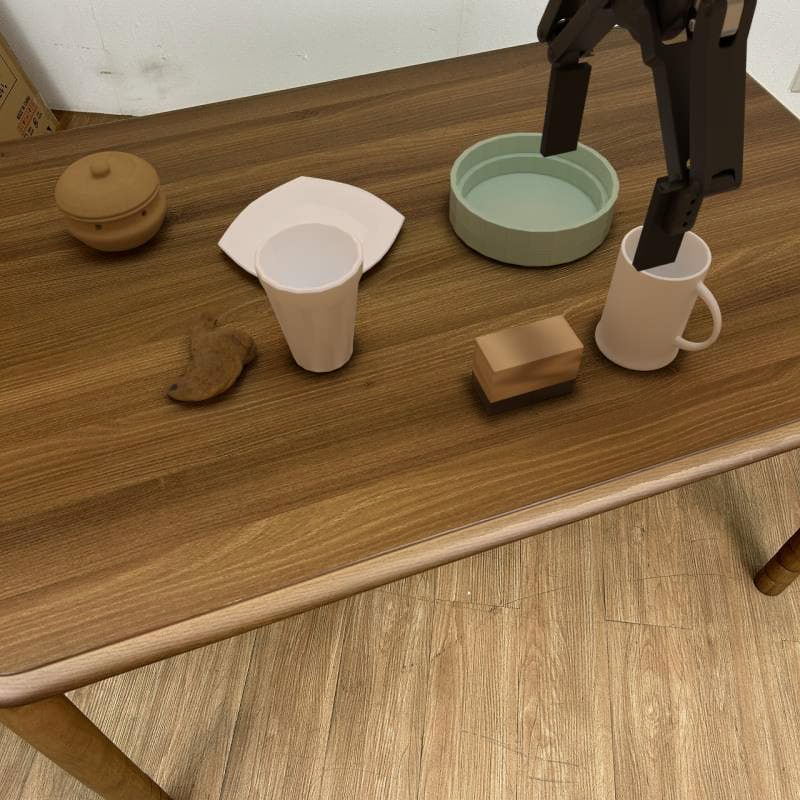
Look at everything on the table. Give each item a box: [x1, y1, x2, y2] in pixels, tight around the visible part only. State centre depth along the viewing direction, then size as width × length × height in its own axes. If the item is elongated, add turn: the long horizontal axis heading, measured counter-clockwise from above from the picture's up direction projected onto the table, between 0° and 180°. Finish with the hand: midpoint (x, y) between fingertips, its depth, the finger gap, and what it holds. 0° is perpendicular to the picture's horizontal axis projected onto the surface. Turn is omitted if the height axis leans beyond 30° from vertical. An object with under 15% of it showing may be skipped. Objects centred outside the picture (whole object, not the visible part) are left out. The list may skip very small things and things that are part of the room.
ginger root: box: [165, 310, 258, 403], centre depth 75 cm, size 10×10×4 cm
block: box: [470, 314, 585, 417], centre depth 71 cm, size 9×4×6 cm, turn 109°
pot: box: [53, 150, 167, 253], centre depth 86 cm, size 12×12×10 cm
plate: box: [217, 175, 406, 278], centre depth 88 cm, size 19×19×2 cm
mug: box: [594, 224, 723, 372], centre depth 72 cm, size 12×8×12 cm
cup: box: [254, 221, 364, 373], centre depth 72 cm, size 10×10×13 cm
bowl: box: [448, 132, 620, 267], centre depth 89 cm, size 19×19×6 cm
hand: (601, 203), depth 52 cm, fingers open, 13 cm apart
